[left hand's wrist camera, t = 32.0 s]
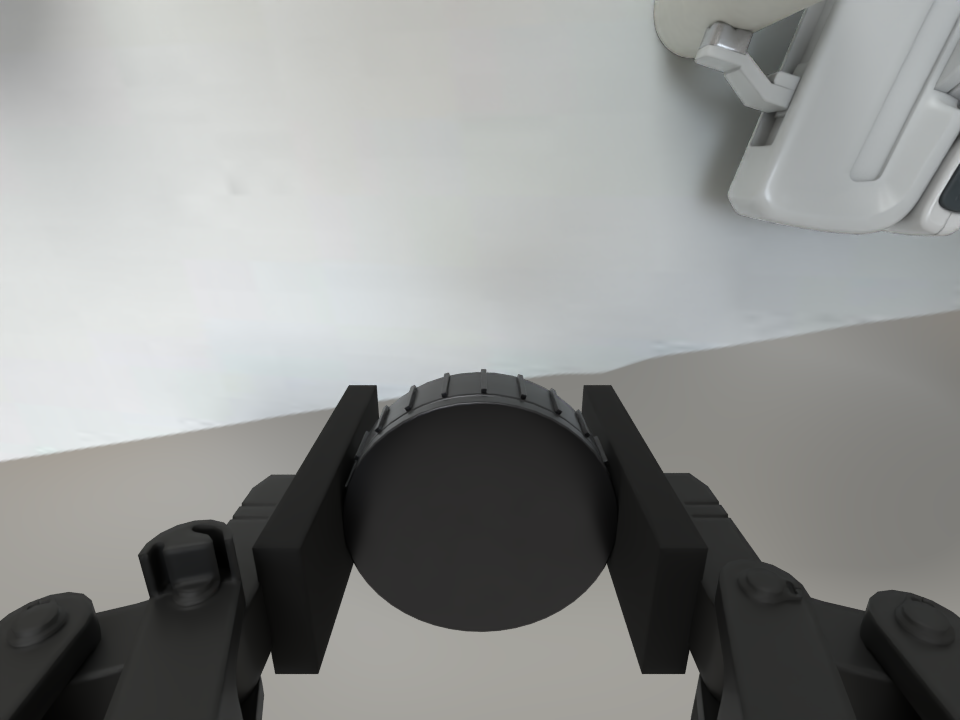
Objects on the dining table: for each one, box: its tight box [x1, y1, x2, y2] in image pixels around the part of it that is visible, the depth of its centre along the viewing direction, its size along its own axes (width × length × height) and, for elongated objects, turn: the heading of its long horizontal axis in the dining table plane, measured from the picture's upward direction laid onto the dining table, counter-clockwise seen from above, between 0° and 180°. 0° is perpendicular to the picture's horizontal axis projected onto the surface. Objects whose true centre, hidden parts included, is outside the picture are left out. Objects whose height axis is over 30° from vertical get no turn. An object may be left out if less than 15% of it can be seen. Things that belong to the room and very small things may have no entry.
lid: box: [342, 369, 619, 632], centre depth 12 cm, size 6×6×2 cm
